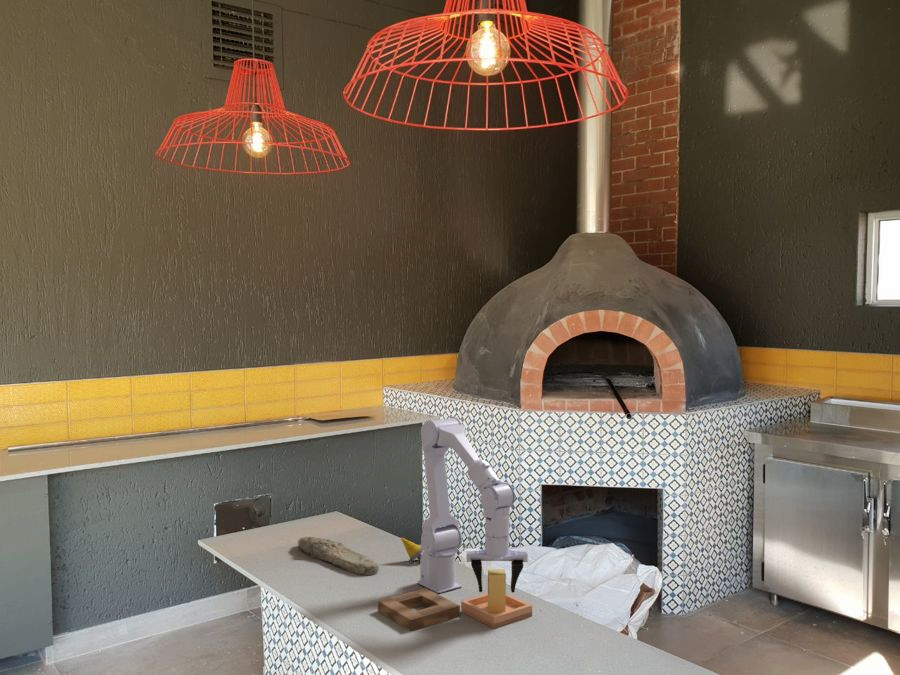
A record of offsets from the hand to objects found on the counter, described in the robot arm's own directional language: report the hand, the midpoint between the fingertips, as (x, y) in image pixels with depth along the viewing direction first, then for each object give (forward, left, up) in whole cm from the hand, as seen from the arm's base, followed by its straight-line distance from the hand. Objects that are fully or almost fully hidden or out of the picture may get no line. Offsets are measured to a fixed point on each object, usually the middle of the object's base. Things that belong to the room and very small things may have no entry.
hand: (496, 590), depth 179 cm
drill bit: (-42, +5, -6) cm, 42 cm away
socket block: (-11, -15, -5) cm, 19 cm away
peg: (0, 0, -4) cm, 4 cm away
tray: (0, 0, -5) cm, 5 cm away
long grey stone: (-57, -12, -6) cm, 58 cm away
